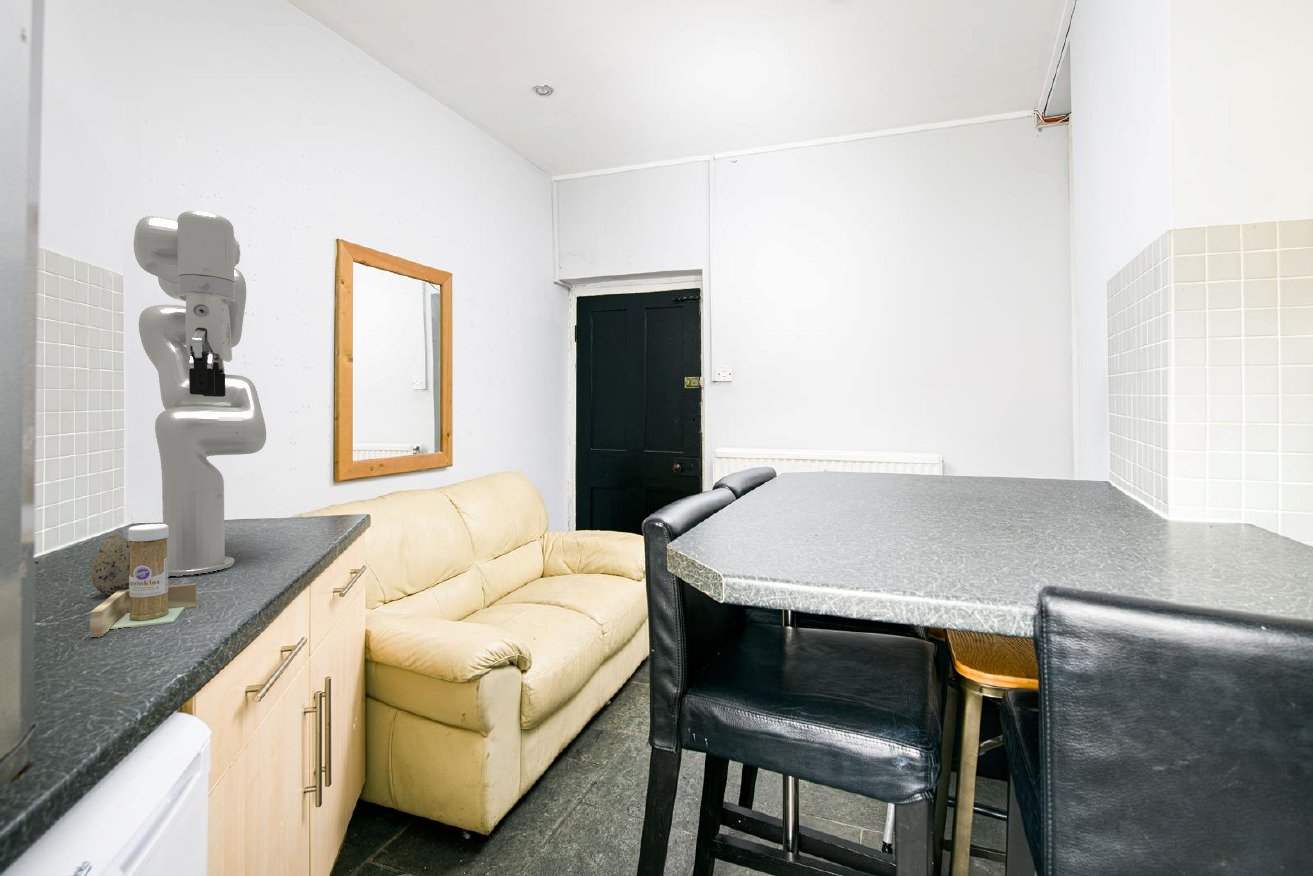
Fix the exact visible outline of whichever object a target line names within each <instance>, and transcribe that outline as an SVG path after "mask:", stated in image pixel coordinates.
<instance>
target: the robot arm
mask: <svg viewBox="0 0 1313 876" xmlns="http://www.w3.org/2000/svg"><path fill="white" fill-rule="evenodd" d="M234 231H235V230H234V225H233V224H232V222H231V221H230V220H229V219H227V218H226V217H224V216H221V215H218V214H215V213H213V212H207V211H202V210H201V211H200V210H199V211H197V210H187V211H183V212H181V213H180V214H179V215H178V217H177V218H176V219H173V218H168V217H162V216H150V215H149V216H144V217H142V218H141V219H139V221H138V222H137V223H136V226H135V230H134V236H133V252H134V256H135V260H136V261H137V264H138V265H139V266H140V268H141V269H142V270H144V271H145V272H147V273H149V274H150V275H153V276H154V277H157V281H158V285H159V287H160V288H161V290H162V291H163V292H164V293H165V295H167V296H169V297H170V298H173V299H175V300H178V301H181V302H185V305H179V304H178V305H177V304H156V305H151V306H149V307H146V308H145V309H143V310H142V311H141V312H140V315H139V318H138V319H139V320H138V332H139V333H138V334H139V337H140V340H141V344H142V347H143V350H144V351H145V353H146V355H147V357H148V359H149V360H150V361H151V364H153V365H154V368H155V369H156V371H157V373H158V383H159V389H160V398H161V403H162V406H163V408H164V410H163V411H162V412H160V413H159V414H158V415H157V416H156V419H155V423H154V431H155V432H154V433H155V438H156V441H157V442H156V443H157V446H158V453H159V459H160V469H161V488H162V489H161V491H162V492H161V493H162V495H161V496H162V497H161V498H162V502H161V503H162V524H166V525H168V530H169V536H168V537H167V538H168V540H167V557H168V578H169V577H170V576H176V577H184V576H183V575H191V576H195V575H194V574H199V573H205V572H211V573H213V572H212V571H216V570H219V569H222V568H227V569H229V568H228V567H230V566H232V565H233V564H234V565H235V558H234V557H232V556H226V547H225V543H226V542H225V539H226V538H225V535H226V534H225V487H224V486H225V484H224V483H225V481H224V476H223V474H222V473H221V471H220V470H219V469H218V468H217V467H216V466H214V464H212V463H211V462H210V461H209V460H208V459H207V458H208V457H214V456H233V455H235V456H236V455H251V454H255V453H258V452H260V450H262V449H263V448H264V446H265V444H266V442H267V441H266V440H267V427H266V423H265V419H264V415H263V411H262V407H261V403H260V399H259V395H258V391H257V388H256V386H255V383H253V381H252V380H251V379H249V378H248V377H246V376H243V375H238V374H226V373H225V364H224V362H225V363H230V362H232V360H233V350H232V348H235V347H236V346H238V345H239V343H240V341H241V339H242V332H243V326H244V325H243V324H244V317H245V309H246V302H247V283H246V280H245V277H244V275H243V273H242V272H241V270H239V269H238V268H236V266H237V265H238V264H239V263H240V261H241V260H240V259H241V258H240V257H241V249H240V243H239V241H238V240H237V239H236V237H235V232H234ZM234 565H233V566H234ZM233 566H232V567H233ZM230 568H231V567H230ZM216 572H217V571H216ZM199 575H200V574H199Z"/></svg>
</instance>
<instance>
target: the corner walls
mask: <svg viewBox="0 0 1313 876" xmlns="http://www.w3.org/2000/svg"><path fill="white" fill-rule="evenodd" d="M197 605H198V583H197V582H195V583H193V582H192V583H184V584H183V583H182V584H172V585H168V609H170V608H179V607H185V609H190V608H196V607H197ZM126 613H130V595H129V589H128V590H118V591H117V592H115V593H114V594H113V595H109V597H108V598H107V599H105V600H104V601H103V602H101V603H100V604H99V605H97V606H96V607H95V608H94V609H93V610H91V611H89V638H90V637H98V636H102V637H103V635H104V634H105V633H106V632H107V633H108V632H109V631H110V630H109V629H110V628H111V627H112V626H113V625H114V624H115V623H116V622H117V621H118V620H119V619H121V618H122V617H123V616H124V615H125V614H126ZM107 633H106V634H107ZM106 634H105V635H106ZM105 635H104V636H105ZM98 638H99V637H98Z"/></svg>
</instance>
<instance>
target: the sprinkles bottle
mask: <svg viewBox="0 0 1313 876" xmlns="http://www.w3.org/2000/svg"><path fill="white" fill-rule="evenodd" d="M168 536H169V530H168V525H166V524H163V523H150V524H148V523H147V524H140V525H139V524H138V525H134V526H130V527H129V528H128V529H127V540H128V542H129V543H130V575H129V595H130V615H129V617H130V618H131V619H133V620H148V619H154V618H158V617H161V616H164V615H166V614H167V613H168V612H169V609H168V586H169V577H168V557H167V540H168V538H167V537H168Z"/></svg>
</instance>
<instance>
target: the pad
mask: <svg viewBox="0 0 1313 876" xmlns="http://www.w3.org/2000/svg"><path fill="white" fill-rule="evenodd" d="M185 609H186V608H185V607H179V608H170V609H169V612H168V613H167V614H166V615H164V616H161V617H158V618H154V619H148V620H133V619H131V618H130V617H129V615H130V613H126V614H125V615H124V616H123V617H122V618H121V619H119V620H118V621H117V622H116V623H115V624H114V625H113V626H112V627H111V628H110V629H114V630H119V629H118V628H122V629H124V628H123V627H131V628H137V627H138V628H139V627H146V626H154V625H163V624H171V623H172V624H173V623H174V622H175V621H176V620H177V619H178V618H179V616H180V615H181V614H182V612H183V611H184V610H185Z"/></svg>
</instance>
